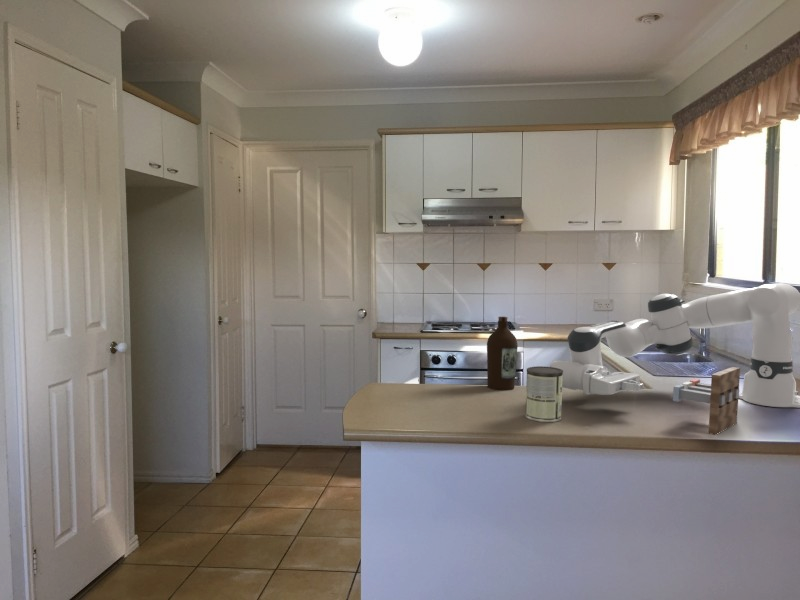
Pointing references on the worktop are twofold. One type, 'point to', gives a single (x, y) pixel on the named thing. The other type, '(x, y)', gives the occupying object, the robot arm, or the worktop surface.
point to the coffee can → (544, 394)
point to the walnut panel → (728, 412)
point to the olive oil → (501, 357)
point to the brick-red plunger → (697, 383)
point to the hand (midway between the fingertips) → (641, 387)
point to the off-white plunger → (704, 390)
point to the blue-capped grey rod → (693, 395)
